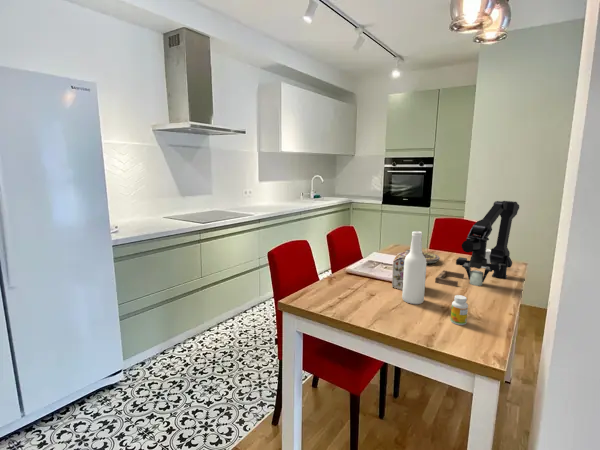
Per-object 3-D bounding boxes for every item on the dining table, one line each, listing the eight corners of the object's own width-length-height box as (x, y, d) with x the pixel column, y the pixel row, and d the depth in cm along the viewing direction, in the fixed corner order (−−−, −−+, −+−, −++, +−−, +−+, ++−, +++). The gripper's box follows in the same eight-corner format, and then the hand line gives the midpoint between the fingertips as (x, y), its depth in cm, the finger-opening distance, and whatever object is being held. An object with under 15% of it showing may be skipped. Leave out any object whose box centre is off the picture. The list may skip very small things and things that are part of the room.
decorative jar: (425, 287, 159) (428, 250, 156) (415, 294, 151) (417, 255, 148) (402, 281, 167) (404, 246, 164) (390, 287, 159) (392, 250, 156)
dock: (443, 274, 179) (443, 270, 179) (463, 277, 173) (464, 273, 173) (435, 282, 166) (435, 278, 166) (456, 286, 160) (457, 282, 160)
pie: (406, 253, 223) (406, 246, 223) (450, 261, 208) (450, 253, 207) (390, 263, 201) (391, 255, 200) (438, 272, 185) (439, 263, 185)
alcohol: (413, 306, 137) (417, 234, 132) (397, 299, 145) (401, 230, 140) (428, 302, 141) (433, 232, 136) (412, 295, 149) (416, 229, 144)
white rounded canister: (470, 281, 168) (471, 269, 167) (483, 283, 165) (484, 271, 164) (468, 284, 164) (469, 272, 163) (481, 286, 161) (482, 274, 160)
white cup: (492, 269, 189) (494, 251, 187) (477, 268, 190) (478, 251, 189) (487, 265, 196) (489, 248, 195) (473, 264, 198) (474, 247, 196)
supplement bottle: (447, 319, 126) (449, 294, 124) (461, 318, 126) (463, 294, 125) (455, 325, 121) (457, 300, 119) (469, 325, 121) (471, 299, 119)
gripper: (454, 250, 161) (452, 281, 163) (499, 256, 150) (495, 289, 152) (459, 246, 169) (457, 275, 172) (502, 251, 159) (498, 283, 161)
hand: (476, 280), depth 164 cm, fingers closed on white rounded canister, 6 cm apart
